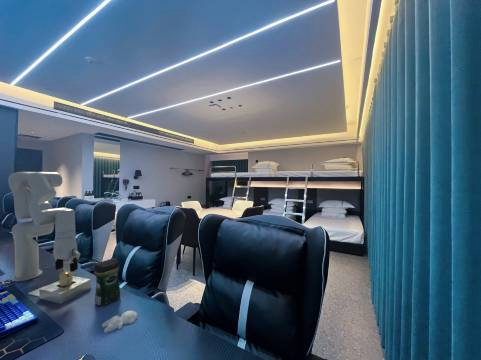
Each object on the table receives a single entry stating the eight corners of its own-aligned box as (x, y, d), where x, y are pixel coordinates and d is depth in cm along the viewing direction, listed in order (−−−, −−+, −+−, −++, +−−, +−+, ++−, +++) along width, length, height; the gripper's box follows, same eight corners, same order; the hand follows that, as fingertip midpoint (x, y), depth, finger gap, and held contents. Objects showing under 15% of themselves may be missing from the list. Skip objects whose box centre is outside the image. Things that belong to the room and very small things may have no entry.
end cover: (57, 295, 102) (56, 274, 102) (68, 289, 107) (67, 270, 107) (64, 296, 101) (64, 275, 100) (75, 291, 105) (75, 271, 105)
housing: (39, 298, 99) (39, 289, 99) (71, 284, 112) (70, 275, 112) (60, 303, 95) (60, 293, 95) (90, 288, 108) (90, 279, 108)
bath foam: (59, 280, 117) (58, 244, 116) (61, 275, 122) (60, 241, 122) (75, 277, 120) (74, 242, 120) (76, 272, 126) (75, 239, 126)
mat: (28, 294, 103) (28, 293, 103) (47, 285, 111) (47, 285, 111) (39, 296, 101) (39, 295, 101) (57, 288, 108) (57, 287, 108)
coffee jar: (114, 293, 104) (114, 255, 103) (122, 298, 99) (122, 258, 99) (91, 302, 96) (91, 262, 95) (99, 308, 91) (99, 266, 91)
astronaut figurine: (101, 323, 83) (101, 316, 83) (134, 311, 90) (134, 304, 90) (104, 336, 76) (103, 328, 76) (140, 322, 83) (139, 314, 83)
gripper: (44, 235, 102) (45, 271, 102) (70, 237, 97) (71, 274, 97) (61, 231, 109) (62, 264, 109) (86, 233, 104) (87, 268, 104)
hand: (66, 269), depth 103 cm, fingers open, 9 cm apart
